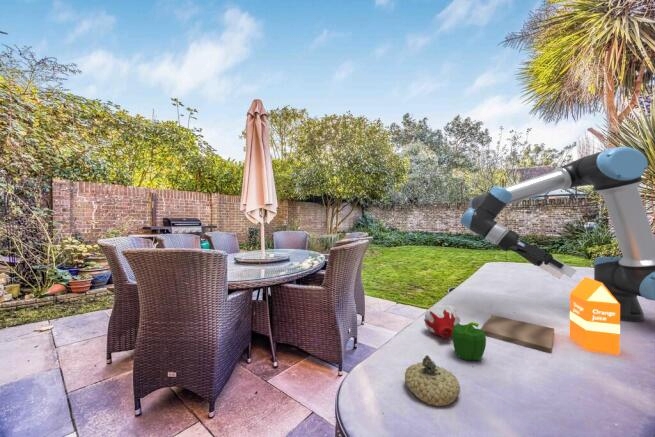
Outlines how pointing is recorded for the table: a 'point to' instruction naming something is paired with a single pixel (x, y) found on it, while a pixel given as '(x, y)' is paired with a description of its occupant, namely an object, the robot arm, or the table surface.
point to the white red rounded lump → (441, 320)
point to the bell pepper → (469, 341)
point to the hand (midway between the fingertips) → (567, 275)
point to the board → (519, 333)
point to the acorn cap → (432, 383)
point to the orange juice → (594, 317)
